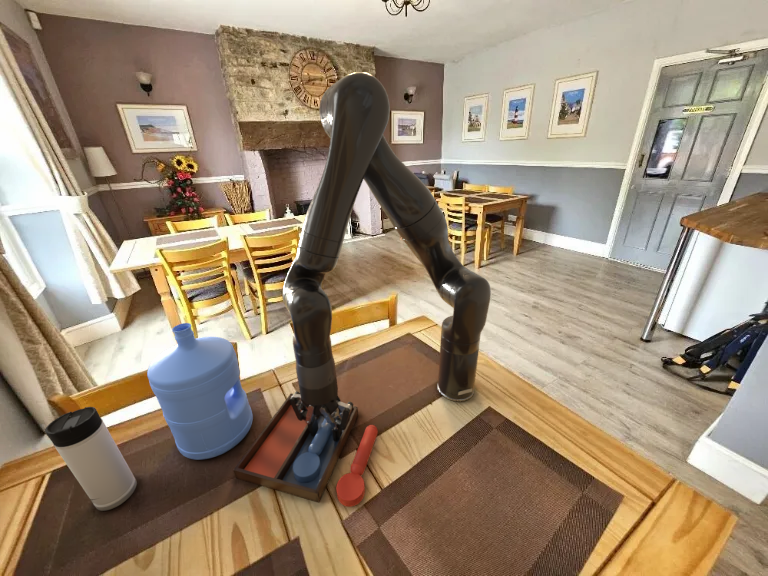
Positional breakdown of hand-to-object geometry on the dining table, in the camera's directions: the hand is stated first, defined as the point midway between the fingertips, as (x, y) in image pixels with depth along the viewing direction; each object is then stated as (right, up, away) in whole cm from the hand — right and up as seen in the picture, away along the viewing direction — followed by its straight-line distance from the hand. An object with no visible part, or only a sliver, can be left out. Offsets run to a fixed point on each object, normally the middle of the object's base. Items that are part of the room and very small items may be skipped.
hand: (325, 435), depth 69 cm
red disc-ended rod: (+8, -4, -6) cm, 11 cm away
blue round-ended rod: (-1, -1, -3) cm, 3 cm away
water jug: (-26, -1, +3) cm, 26 cm away
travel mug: (-38, -7, -10) cm, 40 cm away
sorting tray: (-5, -2, -1) cm, 5 cm away
